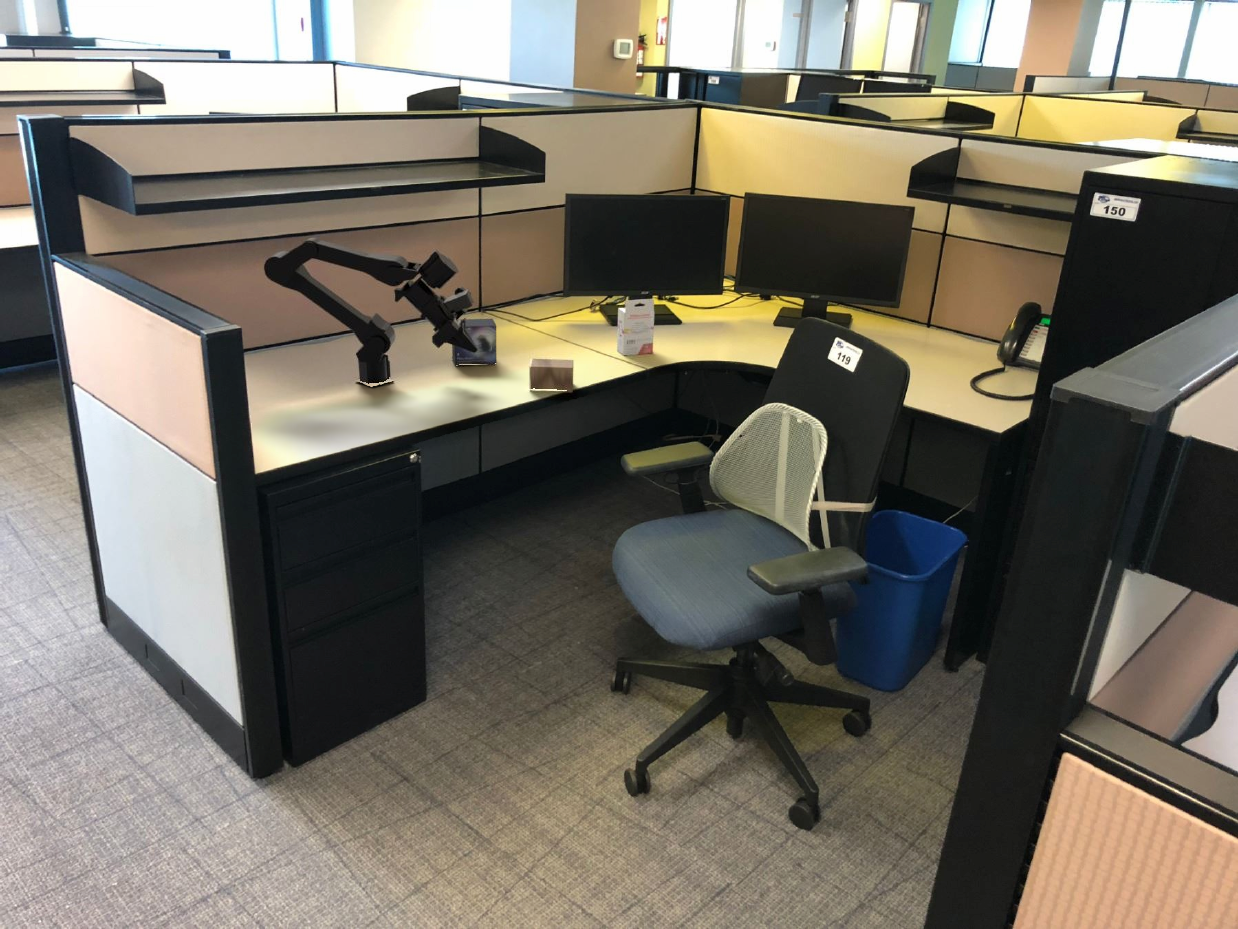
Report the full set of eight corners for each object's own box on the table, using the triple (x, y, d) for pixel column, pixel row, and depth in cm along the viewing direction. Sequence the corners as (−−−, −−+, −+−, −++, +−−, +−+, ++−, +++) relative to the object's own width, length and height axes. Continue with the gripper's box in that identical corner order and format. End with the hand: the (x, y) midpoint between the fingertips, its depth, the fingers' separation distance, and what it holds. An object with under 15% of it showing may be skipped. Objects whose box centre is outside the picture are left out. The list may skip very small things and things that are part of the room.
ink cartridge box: (645, 348, 259) (648, 294, 253) (653, 353, 254) (656, 298, 248) (616, 350, 256) (618, 296, 250) (623, 356, 251) (625, 300, 245)
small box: (454, 367, 238) (453, 326, 233) (451, 359, 243) (450, 319, 239) (497, 365, 240) (496, 324, 236) (493, 357, 246) (492, 317, 242)
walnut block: (529, 366, 221) (572, 367, 222) (531, 358, 227) (573, 359, 227) (529, 391, 224) (572, 392, 224) (531, 382, 229) (573, 383, 230)
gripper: (445, 288, 207) (497, 339, 212) (457, 269, 224) (504, 317, 229) (410, 322, 210) (461, 372, 215) (424, 301, 227) (471, 348, 232)
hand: (476, 351), depth 223 cm, fingers closed
